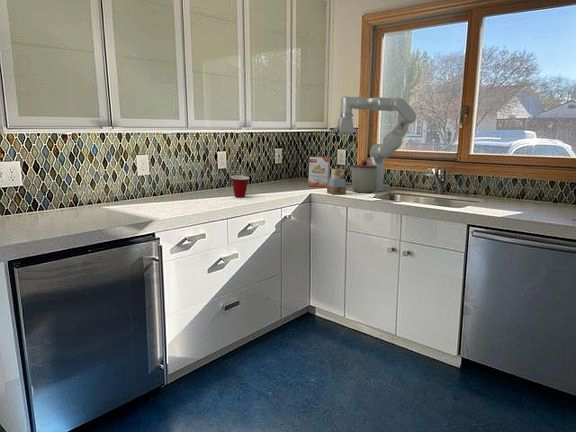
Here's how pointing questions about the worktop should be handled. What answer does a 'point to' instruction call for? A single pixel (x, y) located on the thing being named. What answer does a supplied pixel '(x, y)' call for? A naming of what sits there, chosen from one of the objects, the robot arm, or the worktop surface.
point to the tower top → (337, 182)
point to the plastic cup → (239, 185)
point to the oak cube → (337, 173)
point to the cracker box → (319, 171)
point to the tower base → (336, 190)
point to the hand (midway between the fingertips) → (344, 142)
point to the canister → (363, 177)
